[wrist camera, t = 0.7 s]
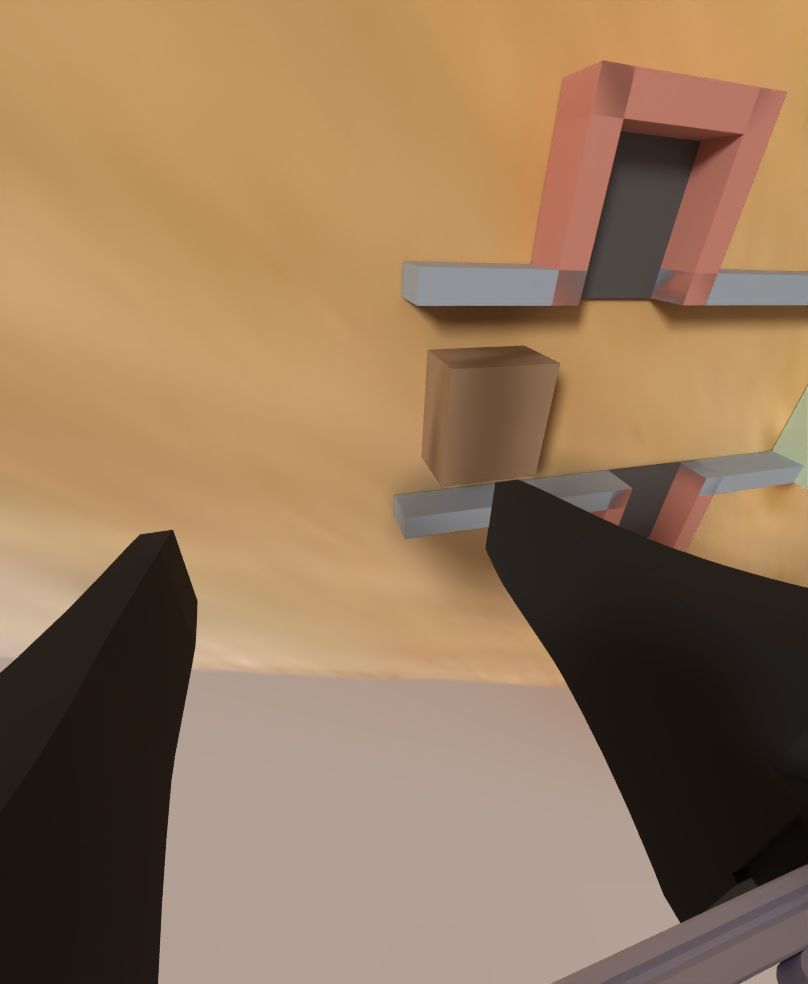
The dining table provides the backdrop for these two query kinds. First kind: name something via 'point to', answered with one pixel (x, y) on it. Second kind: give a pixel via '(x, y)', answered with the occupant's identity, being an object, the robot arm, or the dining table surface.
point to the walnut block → (486, 412)
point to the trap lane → (633, 272)
